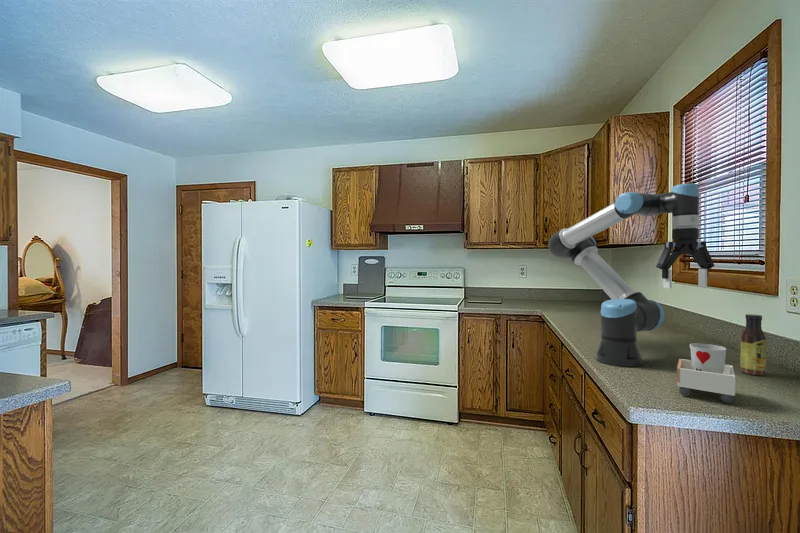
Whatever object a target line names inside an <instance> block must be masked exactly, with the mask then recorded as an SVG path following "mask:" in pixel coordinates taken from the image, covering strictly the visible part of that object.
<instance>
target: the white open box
mask: <svg viewBox="0 0 800 533" xmlns="http://www.w3.org/2000/svg"><path fill="white" fill-rule="evenodd" d="M676 387H679V389H678V392H679V394H680V395H681V396H689V395H690V393H691V390H690V389H692V390H698V391H704V392H709V393H710V392H711V393H716V394H720V400H721V401H722V402H723V403H725V404H731V403H732V402H733V396H736V374H735V371H734V366H733V365H729V364H725V365H724V370H723V374H718V373H711V372H704V371H697V370H693V368H692V363H691V359H684V358H683V359H682V358H678V362H677V365H676Z"/></svg>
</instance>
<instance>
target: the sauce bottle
mask: <svg viewBox="0 0 800 533" xmlns="http://www.w3.org/2000/svg"><path fill="white" fill-rule="evenodd" d="M762 320H763V316H762V315H761V314H749V313H747V314H745V321H746V322H745V328H744V330H742V332H741V335H740V336H741V337H740V338H741V339H740V359H739V360H740V362H739V363H740V372H742V373H744V374H747V375H752V376H765V375H766V370H767V337H766V335H765V333H764V331H763V328H762Z"/></svg>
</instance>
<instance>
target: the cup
mask: <svg viewBox="0 0 800 533" xmlns="http://www.w3.org/2000/svg"><path fill="white" fill-rule="evenodd" d="M689 354H690V356H689V357H690V360H691V363H692V368H693V370H697V371H704V372H711V373H718V374H723V370H724V365H726V356H727V355H726V354H727V348H726V347H725V346H720V345H717V344H711V343H700V342H699V343H696V342H695V343H689Z"/></svg>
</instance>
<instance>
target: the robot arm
mask: <svg viewBox="0 0 800 533" xmlns="http://www.w3.org/2000/svg"><path fill="white" fill-rule="evenodd" d="M699 191H700V190H699V185H698V184H697V183H689V182H688V183H681V184H680V183H679V184H676V185H674V186H672V188H671V192H664V193H659V194H658V193H656V194H653V193H643V192H635V191H632V192H627V191H626V192H623V193H621V194H619V195H618V197H617V198H616V199H615V202H612V203H611V204H610V205H607V206H605V207H604V208H602V209H601V210H599V211H596V212H595V213H593V214H592V215H590V216H588V217H586V218H584V219H583V220H581V221H579V222H577V223H575V224H574V225H572V226H570V227H568V228H562V229H560V230H558V231H556V232H555V233H554V234H552V235H551V236H550V238H549V240H548V244H547V245H548V250H549V252H550V253H551V254H552V255H553V256H555V257H556V258H561V259H563V258H565V259H570V260H571V262H572V263H574V265H576V266H581V267H582V268H583V269H584V270H585V272H586V273H587V274H588V275H589V276H590V278H592V279H593V281H594V282H595V283H596V284H597V285H598V286H599V287H600V288H601V289H602V290H603V292H604V293H605V294H606V295H607V296H608V297H609V298H610V299H607V300H605V301H603V302H602V303H601V304H600V305H601V307H600V308H601V309H600V329H601V330H600V333H601V335H600V343H599V345H598V347H597V349H596V352H595V353H596V354H595V356H596V357H595V358H596V360H597V361H598V362H600V363H602V364H606V365H610V366H617V367H628V368H629V367H630V368H632V367H640V366H641V365H643V357H642V354H641V352H640V349H639V346H638V344H637V343H638V342H637V333H638V332H644V331H647V332H648V331H652V330H655V329H658V328H659V327H661V326H662V324H663V323H664V321H665V310H664V308H663V306H662V305H661V304H660V302H657V301H656V300H653V299H648V298H647V297H646V296H645V294H643V292H641V291H635V290H633V288H631V287H630V285H629V284H628V283H627V282H625V280H624V279H623V278H622V277H621V276H620V275H619V274H618V273H617V272H616V271H615V270H614V269H613V268H612V267H611V266H610V265H609V264H608V263H607V262H606V261H605V260H604V258H602V256H600V255H599V253H598V251H599V249H598V247H597V245H596V244H597V242H596V239H595V238H594V237H593V236H594V235H597V234H598V233H601V232H602V231H605V230H607V229H609V228H610V227H612V226H614V225H617V224H619V223H620V222H622V221H624V220H626V219H629V218H631V217H632V216H634V215H637V214H638V215H640V216H644V217H645V216H646V217H647V216H650V217H651V216H655V215H663V214H672V216H671V218H672V220H671V228H673V229H672V230H671V239H672V240H673V241H665V242H664V248H663V250H662V253H661V254H660V257H659V259H658V260H657V263H656V265H655V266H656V267H655V268H657V269H659V270H661V278H662V280H663V283H662V284H663V286H662V287H663V288H664V289H672V286H673V285H672V278H673V277H672V276H673V273H672V272H673V271H672V269H670V268H671V267H672V266H673V264H675V262H676V261H677V260H678V259H679V257H680V256H682V255H689V256H691V258H692V259H693V260H694V262H696V264H697V265H698V266H699V268H698V271H697V273H698V275H697V276H698V280H697V282H698V284H697V285H698V288H708V278H709V270H711V269H712V268H713V267H715V263H714V261H713V259H712V256H711V254H710V251H709V250H708V248H707V242H706V241H704V240H703V241H698V239H699V238H700V230H699V228H698V227H699V225H700V224H699V223H700V222H699V220H700V218H699V216H700V215H699V214H700V212H699V210H700V207H699V206H700V204H699V202H700V192H699Z"/></svg>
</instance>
